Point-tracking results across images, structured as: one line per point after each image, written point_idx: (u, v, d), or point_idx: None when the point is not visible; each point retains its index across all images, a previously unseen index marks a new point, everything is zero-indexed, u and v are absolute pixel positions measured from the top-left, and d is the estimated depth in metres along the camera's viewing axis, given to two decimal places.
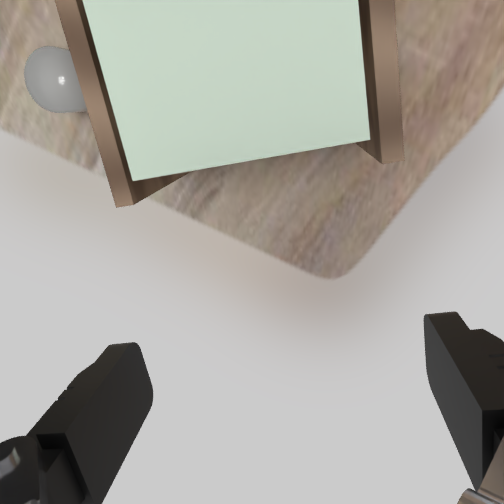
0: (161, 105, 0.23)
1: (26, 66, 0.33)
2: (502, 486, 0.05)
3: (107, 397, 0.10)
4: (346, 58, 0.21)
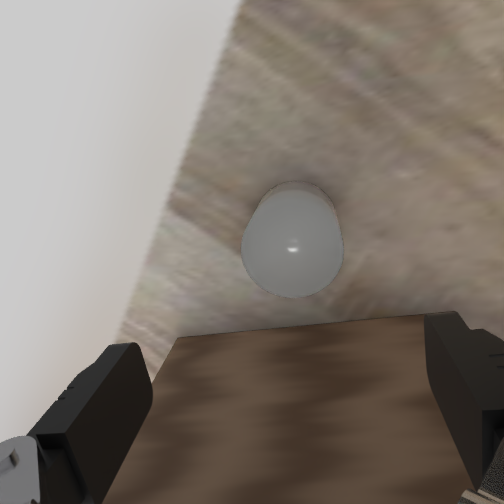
0: None
1: (315, 209, 0.19)
2: (502, 486, 0.05)
3: (107, 398, 0.10)
4: None
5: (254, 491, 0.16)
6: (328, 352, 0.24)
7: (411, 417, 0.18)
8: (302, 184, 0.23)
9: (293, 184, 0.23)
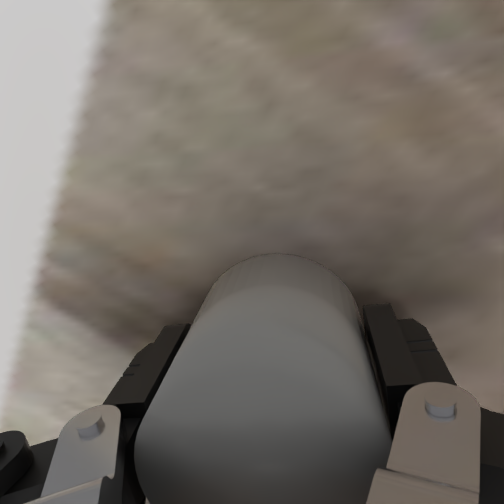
0: None
1: (324, 388, 0.07)
2: (404, 458, 0.06)
3: None
4: None
5: None
6: None
7: None
8: (292, 266, 0.11)
9: (273, 267, 0.11)
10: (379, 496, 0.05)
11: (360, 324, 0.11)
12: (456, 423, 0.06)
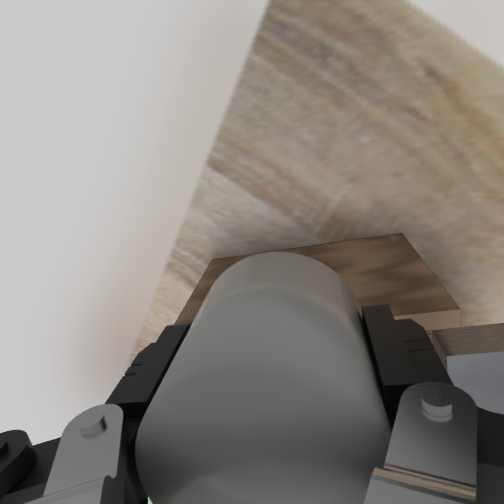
0: None
1: (325, 385, 0.07)
2: (401, 458, 0.06)
3: None
4: None
5: None
6: (316, 257, 0.36)
7: (365, 277, 0.30)
8: (293, 264, 0.11)
9: (274, 265, 0.11)
10: (377, 496, 0.05)
11: (361, 322, 0.11)
12: (453, 422, 0.07)
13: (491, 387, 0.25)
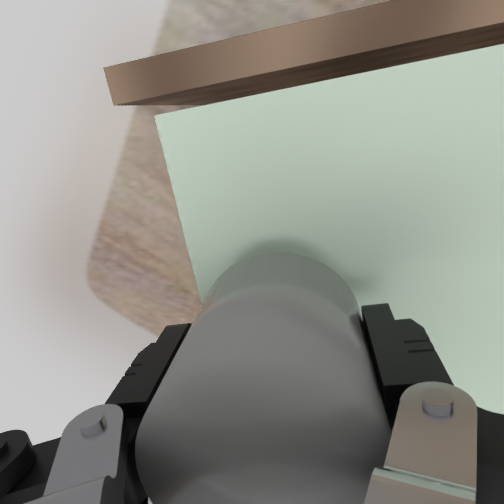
0: (283, 183, 0.14)
1: (325, 385, 0.07)
2: (401, 458, 0.06)
3: None
4: None
5: None
6: None
7: None
8: (293, 264, 0.11)
9: (274, 265, 0.11)
10: (377, 496, 0.05)
11: (361, 322, 0.11)
12: (452, 422, 0.07)
13: None
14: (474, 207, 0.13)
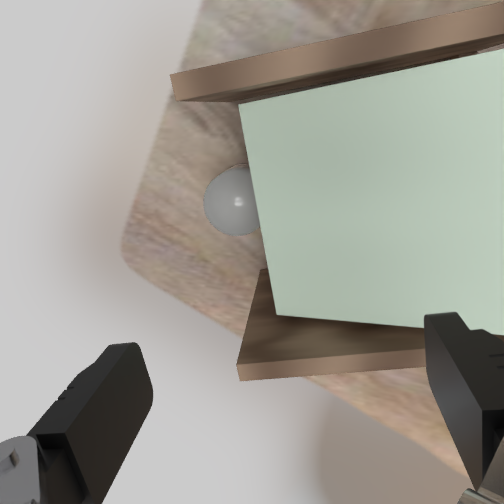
0: (306, 146, 0.23)
1: None
2: (502, 486, 0.05)
3: (107, 397, 0.10)
4: (334, 308, 0.26)
5: None
6: None
7: None
8: None
9: (228, 170, 0.31)
10: None
11: None
12: None
13: None
14: (421, 167, 0.20)
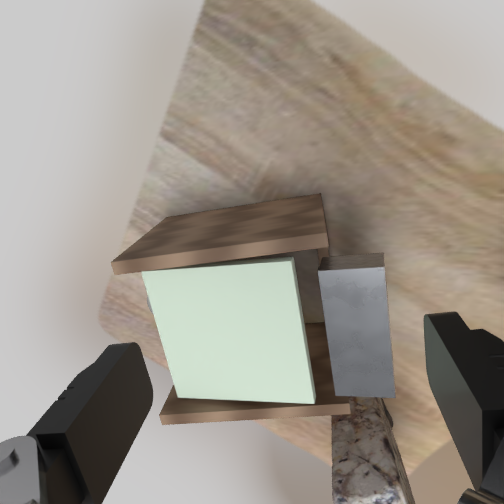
0: (186, 298, 0.36)
1: None
2: (502, 486, 0.05)
3: (107, 398, 0.10)
4: (214, 392, 0.40)
5: (197, 241, 0.36)
6: (247, 211, 0.44)
7: (274, 220, 0.38)
8: None
9: None
10: None
11: None
12: None
13: (353, 298, 0.32)
14: (252, 314, 0.35)
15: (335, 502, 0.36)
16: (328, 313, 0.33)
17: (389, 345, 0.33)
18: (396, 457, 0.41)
